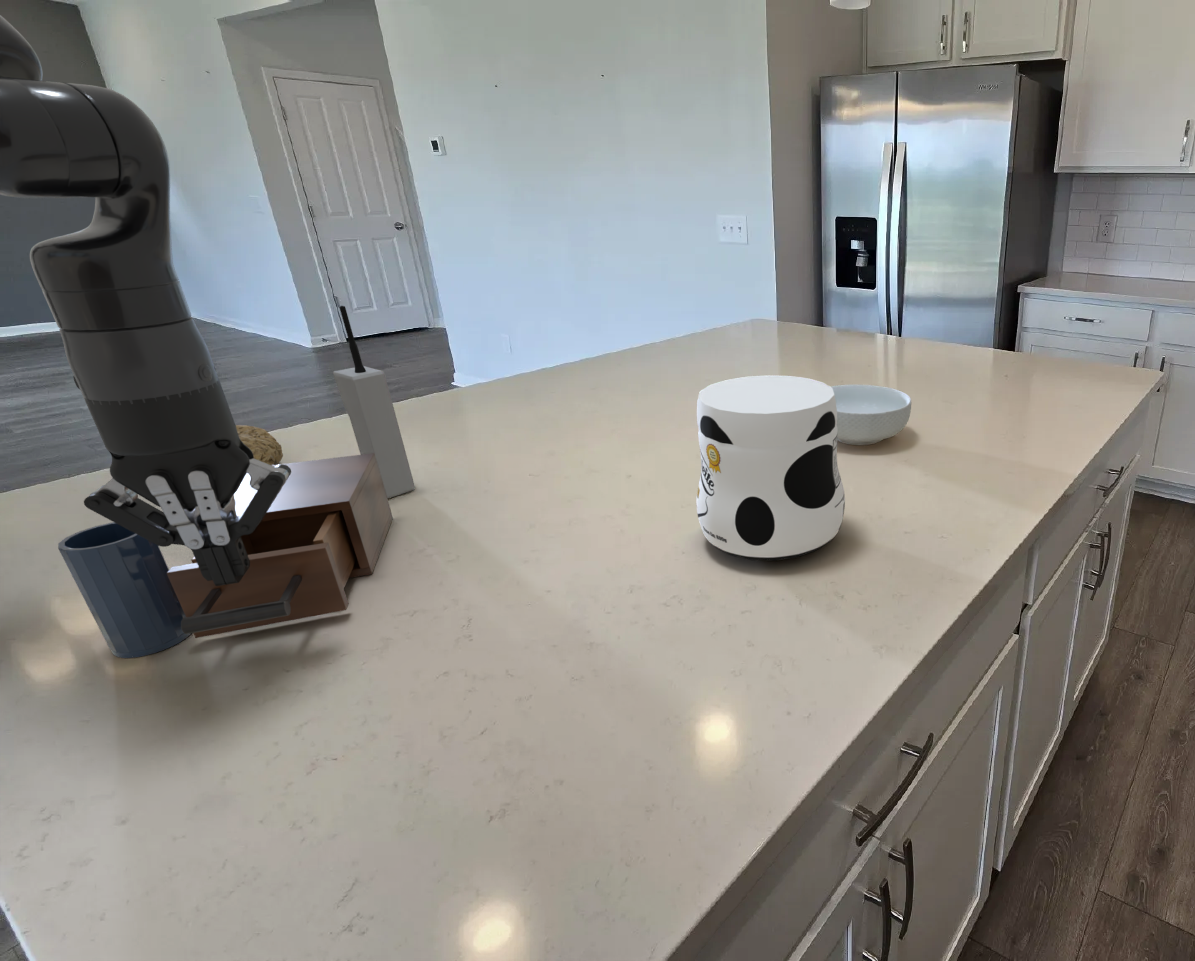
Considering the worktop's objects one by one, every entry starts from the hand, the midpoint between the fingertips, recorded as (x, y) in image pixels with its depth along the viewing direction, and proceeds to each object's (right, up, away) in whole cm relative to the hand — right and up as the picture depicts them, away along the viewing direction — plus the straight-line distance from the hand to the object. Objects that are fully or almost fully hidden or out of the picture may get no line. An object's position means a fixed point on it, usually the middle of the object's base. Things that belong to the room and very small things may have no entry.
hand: (230, 579), depth 60 cm
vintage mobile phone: (-10, +7, +36) cm, 38 cm away
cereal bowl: (+54, +16, +57) cm, 80 cm away
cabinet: (-8, 0, +20) cm, 21 cm away
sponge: (-35, +9, +39) cm, 53 cm away
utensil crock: (-12, -6, +5) cm, 14 cm away
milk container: (+43, +2, +25) cm, 50 cm away
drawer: (-3, -4, +9) cm, 10 cm away
